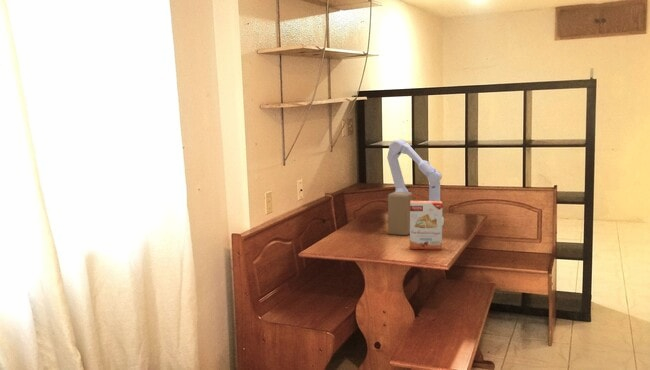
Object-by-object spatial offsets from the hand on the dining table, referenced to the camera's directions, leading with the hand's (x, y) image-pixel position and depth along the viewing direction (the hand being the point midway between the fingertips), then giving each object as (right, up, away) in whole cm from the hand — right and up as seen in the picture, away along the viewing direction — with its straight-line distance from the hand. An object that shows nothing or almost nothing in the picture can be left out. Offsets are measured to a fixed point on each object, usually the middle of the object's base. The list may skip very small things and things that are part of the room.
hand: (434, 220), depth 309 cm
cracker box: (-13, -10, -48) cm, 51 cm away
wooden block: (-20, -6, -18) cm, 27 cm away
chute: (-3, -4, -8) cm, 10 cm away
